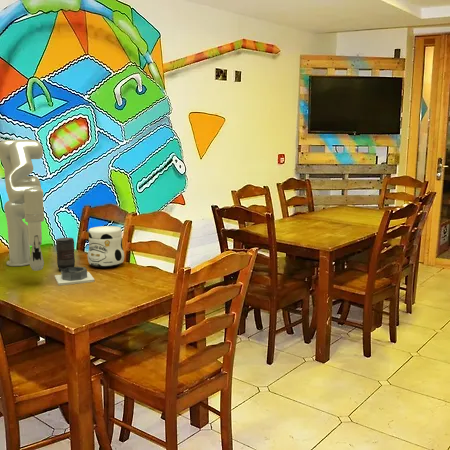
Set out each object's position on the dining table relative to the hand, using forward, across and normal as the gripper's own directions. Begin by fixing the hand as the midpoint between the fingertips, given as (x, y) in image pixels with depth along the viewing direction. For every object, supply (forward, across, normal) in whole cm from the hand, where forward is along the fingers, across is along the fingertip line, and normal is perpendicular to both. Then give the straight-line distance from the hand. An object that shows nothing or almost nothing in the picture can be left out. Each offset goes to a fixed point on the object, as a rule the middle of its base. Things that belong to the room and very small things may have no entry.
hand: (36, 259), depth 234 cm
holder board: (+10, +1, +15) cm, 18 cm away
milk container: (+11, -19, +33) cm, 40 cm away
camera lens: (+11, -17, +14) cm, 25 cm away
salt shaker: (+5, 0, 0) cm, 5 cm away
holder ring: (+10, +1, +15) cm, 18 cm away
